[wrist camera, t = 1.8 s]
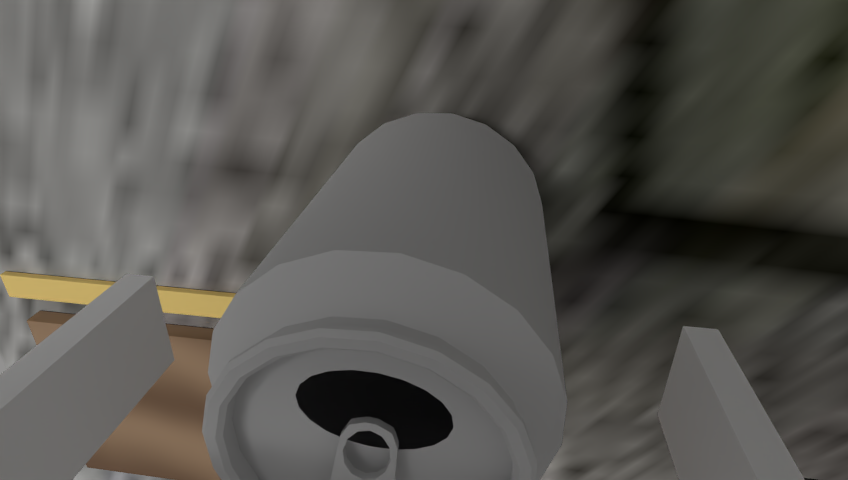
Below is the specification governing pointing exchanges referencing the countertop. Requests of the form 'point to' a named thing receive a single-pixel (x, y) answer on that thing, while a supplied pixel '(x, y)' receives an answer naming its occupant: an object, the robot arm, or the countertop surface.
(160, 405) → the board
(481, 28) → the countertop surface
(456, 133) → the can
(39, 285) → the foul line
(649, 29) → the countertop surface
